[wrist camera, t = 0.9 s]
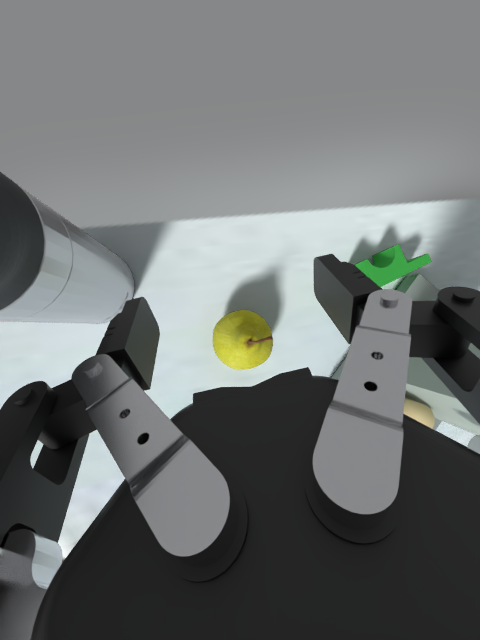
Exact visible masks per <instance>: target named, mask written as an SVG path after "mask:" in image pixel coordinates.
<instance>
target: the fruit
mask: <svg viewBox="0 0 480 640" xmlns="http://www.w3.org/2000/svg"><path fill="white" fill-rule="evenodd" d="M272 346H273V338H272V334H271V330H270V327H269V326H268V324H267V322H266V321H265V320H264V319H263V318H262V317H261V316H260V315H258V314H256V313H254V312H252V311H248V310H238V311H234V312H231V313H229V314H227V315H225V316H224V317H223V318H222V319H221V320H220V321H219V322H218V323H217V324H216V326H215V328H214V332H213V347H214V350H215V353H216V355H217V356H218V358H219V359H220V360H221V361H222V362H223V363H224V364H226V365H227V366H229V367H231V368H233V369H237V370H244V369H250V368H254V367H256V366H258V365H260V364H262V363H263V362H265V361H266V360H267V359H268V358H269V356H270V354H271V351H272Z"/></svg>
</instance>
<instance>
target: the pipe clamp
mask: <svg viewBox="0 0 480 640" xmlns="http://www.w3.org/2000/svg"><path fill="white" fill-rule="evenodd" d="M372 257H373V260H374V264H373V265H372V264H371V263H370V262H369V261H368V259H366V260H364V261H362V262H360V263H357V264H355V266H356V267H357V268H358V269H360V270H361V272H363V273H364V274H365V275H366V276H367V277H369V278H370V279H371V280H372V281H374V282H375V283H376V284H377V285H378V286H379V287H381V286H383V285H385V284H387V283H389V282H392V281H394V280H396V279H398V278H400V277H402V276H404V275H406V274H408V273H410V272H412V271H414V270H416V269H418V268H420V267H422V266H424V265H426V264H428V263H430V262H432V261H431V259H430V257H429V255H428V254H425V255H422V256H419V257H416V258H413V259H410V260H407V261H406V259H405V256H404V254H403V252H402V250H401V248H400V246H399V244H398V245H395V246H393V247H391V248H389V249H387V250H384V251H382V252H380V253H378V254H376V255H373V256H372Z"/></svg>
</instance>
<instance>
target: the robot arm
mask: <svg viewBox="0 0 480 640" xmlns="http://www.w3.org/2000/svg"><path fill="white" fill-rule="evenodd" d="M314 292H315V296H316V298H317V300H318V301H319V303H320V304H321V306H322V307H323V308H324V310H325V311H326V313H327V314H328V316H329V317H330V318H331V320H332V321H333V323H334V324H335V325H336V327H337V328H338V330H339V331H340V332H341V334H342V335H343V337H344V338H345V340H346V341H347V342H348V344H351V345H350V348H349V351H348V354H347V357H346V360H345V363H344V367H343V370H342V373H341V376H340V379H339V380H337V379H333V378H329V377H324V376H312V374H311V372H310V370H309V368H308V367H307V368H303V369H298V370H294V371H290V372H285V373H281V374H278V375H276V376H274V377H272V378H270V379H268V380H266V381H263V382H261V383H259V384H257V385H255V386H252V387H220V388H216V389H211V390H207V391H203V392H198V393H194V394H193V403H192V404H190V405H189V406H187V407H185V408H184V409H182V410H181V411H179V412H178V413H177V414H176V415H175V416H173V417H172V418H171V419H169V418H168V417H167V416H166V415H165V414H164V413H163V412H162V411H161V409H160V408H159V407H158V406H157V405H156V404H155V403H154V402H153V401H152V400H151V398H150V397H149V396H148V395H147V394H146V393H145V392H144V390H148V389H150V387H151V381H152V375H153V370H154V364H155V358H156V353H157V347H158V341H159V336H160V332H159V327H158V324H157V321H156V319H155V317H154V315H153V313H152V311H151V309H150V307H149V305H148V303H147V301H146V299H145V298H144V297H140V298H136V299H132V297H133V293H134V279H133V276H132V273H131V271H130V269H129V267H128V266H127V264H126V263H125V262H124V261H123V260H122V259H121V258H119V257H118V256H117V255H115V254H114V253H113V252H111V251H110V250H108V249H107V248H106V247H104V246H103V245H102V244H100V243H99V242H98V241H96V240H95V239H93V238H92V237H91V236H89V235H88V234H86V233H85V232H84V231H82V230H81V229H79V228H78V227H77V226H75V225H74V224H72V223H71V222H70V221H68V220H67V219H65V218H64V217H63V216H61V215H59V214H58V213H57V212H56V211H54V210H53V209H51V208H50V207H48V206H47V205H46V204H44V203H42V202H41V201H40V200H38V199H37V198H36V197H34V196H33V195H31V194H30V193H29V192H27V191H26V190H24V189H23V188H22V187H20V186H19V185H17V184H16V183H14V182H13V181H12V180H10V179H9V178H8V177H6V176H5V175H4V174H2V173H1V172H0V322H44V323H96V324H98V323H104V322H108V321H110V320H111V321H110V324H109V326H108V328H107V330H106V333H105V337H103V339H102V342H101V344H100V346H99V348H98V351H97V353H96V355H95V356H93V357H90V358H88V359H87V360H85V361H84V362H82V363H81V364H80V365H79V366H78V367H77V368H76V369H75V370H74V372H73V374H72V379H71V380H69V381H67V382H65V383H62V384H60V385H58V386H56V387H54V388H50V387H49V386H48V385H47V384H46V383H45V382H43V381H37V382H33V383H30V384H27V385H25V386H24V387H22V388H20V389H19V390H17V391H16V392H15V393H13V394H12V395H11V396H10V397H9V398H8V399H7V401H6V402H5V403H4V405H3V406H2V408H1V410H0V640H480V454H479V453H477V452H475V451H473V450H471V449H469V448H467V447H466V446H464V445H462V444H460V443H458V442H456V441H454V440H452V439H450V438H449V437H447V436H445V435H443V434H441V433H439V432H437V431H435V430H434V429H432V428H430V427H428V426H426V425H424V424H422V423H420V422H418V421H417V420H415V419H413V418H411V417H409V416H407V415H405V414H403V412H404V402H405V392H406V382H407V372H408V363H409V357H419V358H422V359H423V361H424V362H425V363H426V364H427V365H428V366H429V367H430V369H431V370H432V371H433V372H434V373H435V374H436V375H437V377H438V378H439V379H440V380H441V381H442V382H443V383H444V384H445V386H446V387H447V388H448V389H449V390H450V391H451V392H452V394H453V395H454V396H455V397H456V398H457V399H458V400H459V402H460V403H461V404H462V405H463V406H464V407H465V408H466V409H467V411H468V412H469V413H470V414H471V415H472V416H473V417H474V419H475V420H476V421H477V422H478V423H479V424H480V359H479V358H478V357H477V356H476V355H475V354H474V353H472V352H471V351H470V350H469V349H468V347H469V345H470V343H472V344H473V345H474V346H475V347H476V348H478V349H479V350H480V291H477V290H474V289H470V288H465V287H448V288H444V289H442V290H440V291H439V292H438V294H437V297H436V300H435V301H412V300H411V298H410V297H409V296H408V295H407V294H405V293H403V292H400V291H396V290H389V289H384V290H383V289H382V288H381V287H379V286H378V285H377V284H376V283H375V282H374V281H372V280H371V279H370V278H369V277H367V276H366V275H365V274H364V273H363V272H361V270H360V269H358V268H357V267H356V266H355V265H353V264H350V263H347V262H340V261H339V260H338V259H337V258H336V257H335V256H334V255H333V254H328V255H324V256H320V257H316V258H315V259H314ZM95 430H98V432H99V434H100V435H101V437H102V439H103V441H104V442H105V444H106V446H107V447H108V449H109V451H110V453H111V454H112V456H113V458H114V460H115V461H116V463H117V465H118V466H119V468H120V470H121V472H122V473H123V475H124V477H125V480H124V481H123V482H122V484H121V485H120V486H119V488H118V489H117V490H116V492H115V493H114V494H113V496H112V497H111V498H110V500H109V501H108V502H107V504H106V505H105V506H104V508H103V509H102V510H101V512H100V513H99V514H98V516H97V517H96V518H95V520H94V521H93V522H92V524H91V525H90V526H89V528H88V529H87V530H86V532H85V533H84V534H83V536H82V537H81V539H80V540H79V541H78V543H77V544H76V545H75V547H74V548H73V549H72V551H71V552H70V553H69V555H68V556H67V557H66V559H65V560H64V561H63V563H62V550H61V547H60V546H59V544H58V540H59V537H60V533H61V530H62V526H63V523H64V519H65V516H66V512H67V509H68V506H69V502H70V499H71V495H72V492H73V488H74V485H75V482H76V478H77V475H78V471H79V468H80V464H81V461H82V457H83V454H84V451H85V447H86V444H87V440H88V437H89V433H91V432H93V431H95ZM37 440H39V441H40V442H42V443H43V444H44V445H43V447H42V449H41V452H40V454H39V456H38V459H37V461H36V463H35V466H34V468H32V467H31V463H30V457H31V454H32V451H33V449H34V447H35V445H36V442H37ZM61 563H62V564H61Z"/></svg>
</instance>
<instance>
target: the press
mask: <svg viewBox="0 0 480 640" xmlns="http://www.w3.org/2000/svg"><path fill="white" fill-rule="evenodd" d="M396 291H400V292H403V293H405V294H407V295H408V296H409V297H410V298H411V300H412V301H435V300H436V297H437V294H438V292H439V290H438V289H437V288H436V287H434V286H433V285H432V284H431V283H430V282H429V281H427V280H426V279H425V278H424V277H423V276H422V275H420V274H416V275H412V276H408V277H405V278H404V280H403V281H402V283H401V284H400V285H399V287H398V288H397V289H396ZM468 349H469V350H470V351H471V352H472V353H474V354H475V355H476V356H477V357H478V358H479V359H480V350H479V349H478V348H476V347H475V346H474V345H473V344H472V343H470V345H469V347H468ZM345 360H346V358H345V359H344V361H343V362H342V364H341V365H340V366H339V368H338V369H337V370H336V372H335V373H334V374H333V376H332V377H331V378H333V379H337V380H339V379H340V376H341V373H342V370H343V367H344V363H345ZM403 414H405V415H407V416H409V417H411V418H413V419H415V420H417V421H418V422H420V423H422V424H424V425H426V426H428V427H430V428H432V429H434V430H436V428H437V427H438V425H439V424H440V423H441V421H444V422H446V423H449V424H451V425H454V426H456V427H458V428H461V429H463V430H466V431H468V432H470V433H473V434H475V435H476V436H474V437H473V438H472V439H471V440H470V442H469V444H468V448H469V449H471V450H473V451H475V452H477V453H479V454H480V424H479V423H478V422H477V421H476V420H475V419H474V417H473V416H472V415H471V414H470V413H469V412H468V411H467V409H466V408H465V407H464V406H463V405H462V404H461V403H460V402H459V400H458V399H457V398H456V397H455V396H454V395H453V394H452V392H451V391H450V390H449V389H448V388H447V387H446V386H445V384H444V383H443V382H442V381H441V380H440V379H439V378H438V377H437V375H436V374H435V373H434V372H433V371H432V370H431V369H430V367H429V366H428V365H427V364H426V363H425V362H424V361H423V359H422V358H419V357H409V363H408V372H407V382H406V392H405V402H404V412H403Z"/></svg>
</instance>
